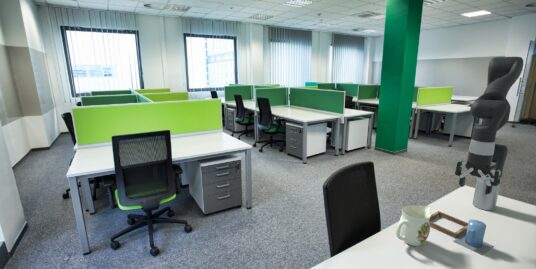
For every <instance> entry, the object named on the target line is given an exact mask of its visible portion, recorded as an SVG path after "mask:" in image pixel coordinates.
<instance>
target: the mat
mask: <svg viewBox="0 0 536 269" xmlns="http://www.w3.org/2000/svg"><path fill="white" fill-rule="evenodd" d="M465 238H466V233H463V234H462V235H460V236H459V237H457V238H455V239H454V240H453V242H454V243H456V244H457V245H459V246H462V247H464V248H467V249H469V250H471V251H472V252H474V253H477V254H479V255H481V256H484V254H486V253H488V251H490V250H491V249H493V247H495V246H494V245H492V244H490V243H489V242H485V241H484V240H483V244H482V247H480V248H476V247H472V246H470V245H468V244H467V243H466V242H465Z"/></svg>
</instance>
